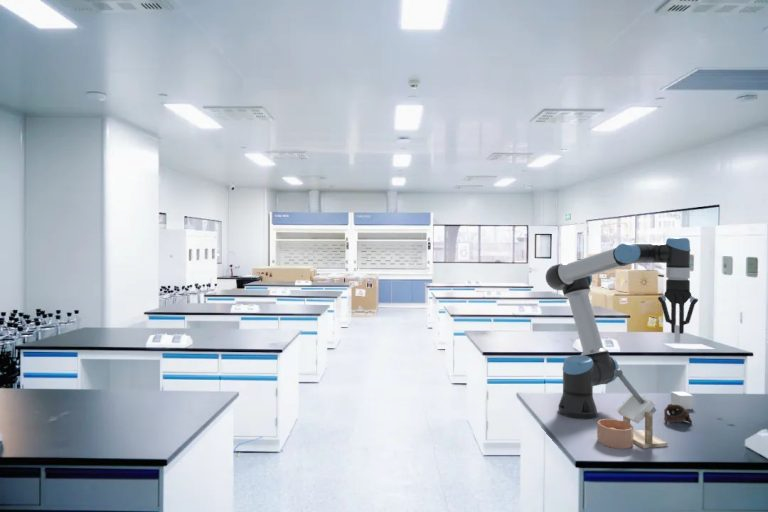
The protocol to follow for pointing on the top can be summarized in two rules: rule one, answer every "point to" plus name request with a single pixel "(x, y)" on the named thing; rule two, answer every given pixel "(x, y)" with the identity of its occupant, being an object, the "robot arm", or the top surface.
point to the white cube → (682, 399)
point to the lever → (634, 402)
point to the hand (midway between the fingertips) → (677, 342)
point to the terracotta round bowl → (615, 433)
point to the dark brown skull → (676, 414)
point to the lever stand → (646, 434)
